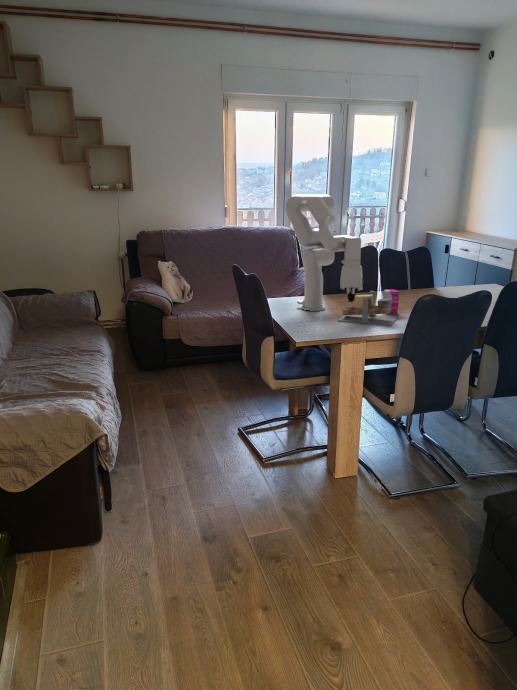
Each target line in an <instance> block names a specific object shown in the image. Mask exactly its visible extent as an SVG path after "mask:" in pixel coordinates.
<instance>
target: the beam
mask: <svg viewBox="0 0 517 690" xmlns="http://www.w3.org/2000/svg"><path fill="white" fill-rule="evenodd" d="M390 312H391V300H390V298H388V299H383V298H379V299H378V300H377V305H375V306H374V308H370V305H369V300H368V314H377V315H390V314H389V313H390ZM344 315H362V309H356V307H355V306H345V309H342V316H344Z"/></svg>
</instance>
